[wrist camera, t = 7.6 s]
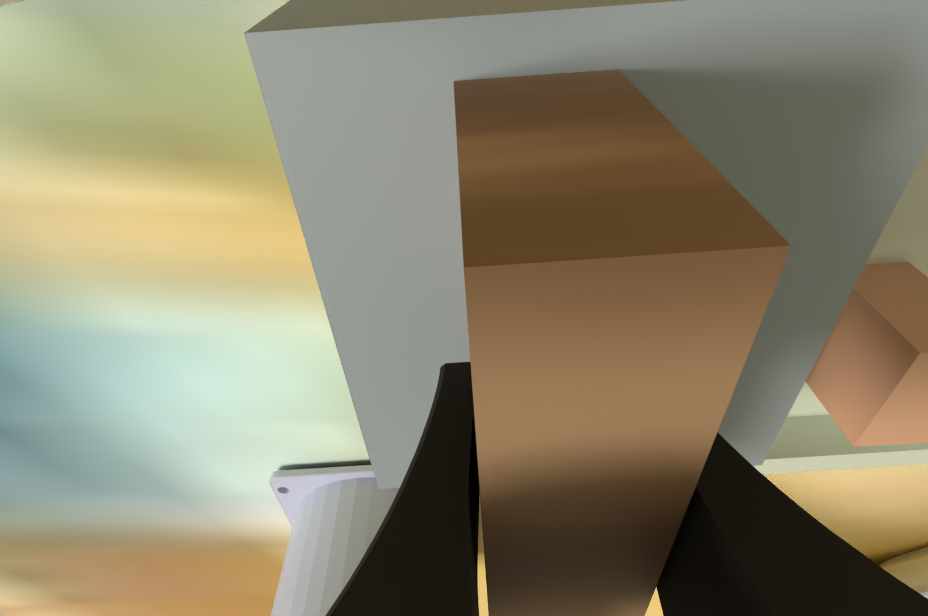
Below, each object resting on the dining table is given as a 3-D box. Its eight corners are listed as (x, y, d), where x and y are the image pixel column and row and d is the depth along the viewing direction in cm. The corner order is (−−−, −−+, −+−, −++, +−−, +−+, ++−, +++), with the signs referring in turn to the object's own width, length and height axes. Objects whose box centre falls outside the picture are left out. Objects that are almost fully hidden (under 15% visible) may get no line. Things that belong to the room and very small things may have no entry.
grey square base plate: (713, 378, 21) (761, 465, 17) (388, 399, 21) (378, 489, 18) (863, -47, 12) (1014, -24, 9) (296, -5, 12) (243, 32, 9)
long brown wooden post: (571, 460, 17) (620, 676, 12) (479, 465, 17) (493, 684, 12) (618, 69, 9) (791, 245, 5) (453, 81, 9) (462, 267, 5)
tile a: (786, 355, 19) (854, 352, 19) (853, 446, 16) (934, 442, 16) (830, 265, 17) (908, 261, 17) (920, 352, 13) (1016, 347, 13)
